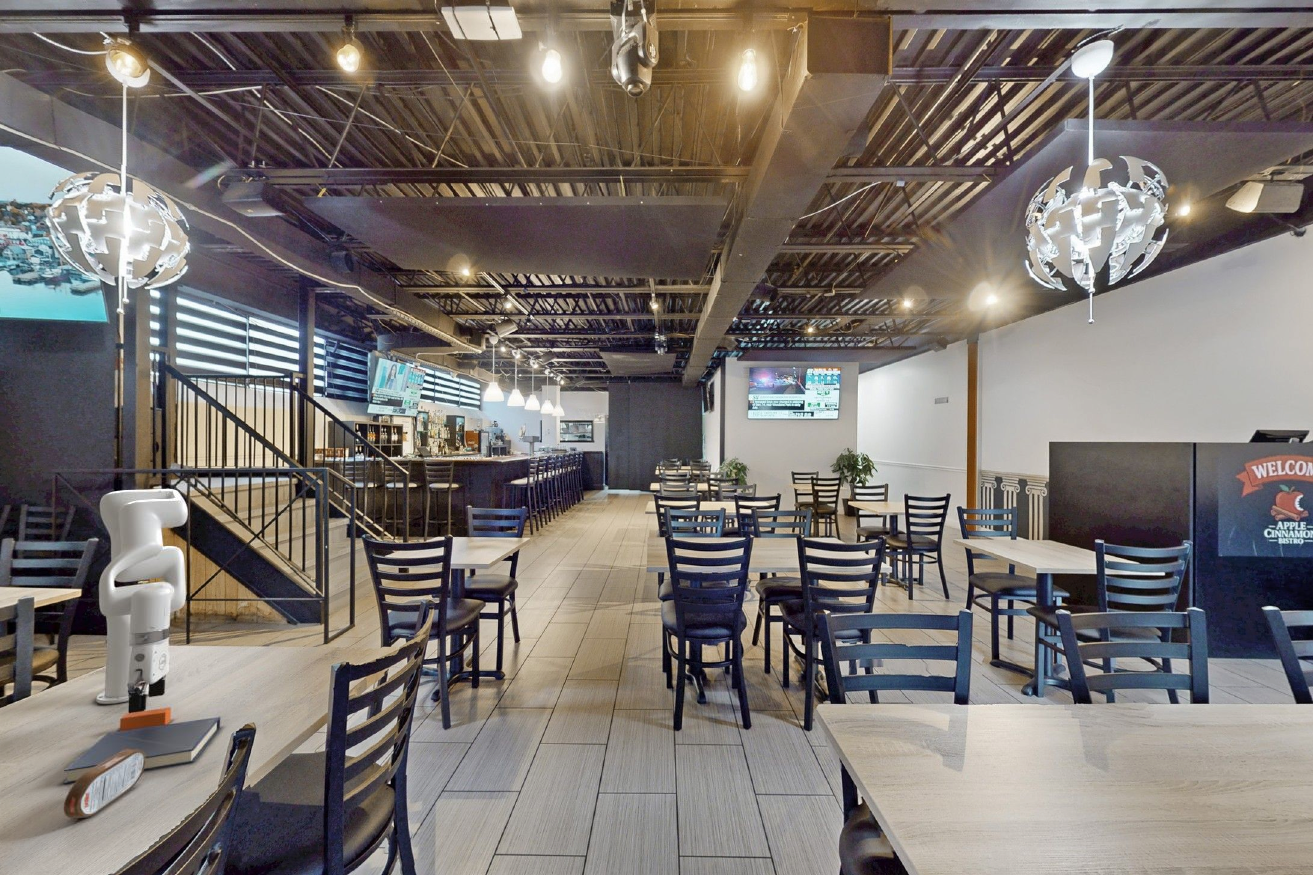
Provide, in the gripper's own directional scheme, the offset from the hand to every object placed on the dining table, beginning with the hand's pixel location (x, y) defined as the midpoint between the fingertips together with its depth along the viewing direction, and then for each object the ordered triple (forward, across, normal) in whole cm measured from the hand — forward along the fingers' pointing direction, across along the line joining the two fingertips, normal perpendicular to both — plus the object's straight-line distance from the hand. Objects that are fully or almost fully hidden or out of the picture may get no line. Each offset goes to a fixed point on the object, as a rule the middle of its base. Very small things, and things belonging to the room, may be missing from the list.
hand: (147, 703), depth 136 cm
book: (+7, -15, -7) cm, 18 cm away
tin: (+7, -34, -8) cm, 36 cm away
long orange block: (+6, +1, 0) cm, 6 cm away
